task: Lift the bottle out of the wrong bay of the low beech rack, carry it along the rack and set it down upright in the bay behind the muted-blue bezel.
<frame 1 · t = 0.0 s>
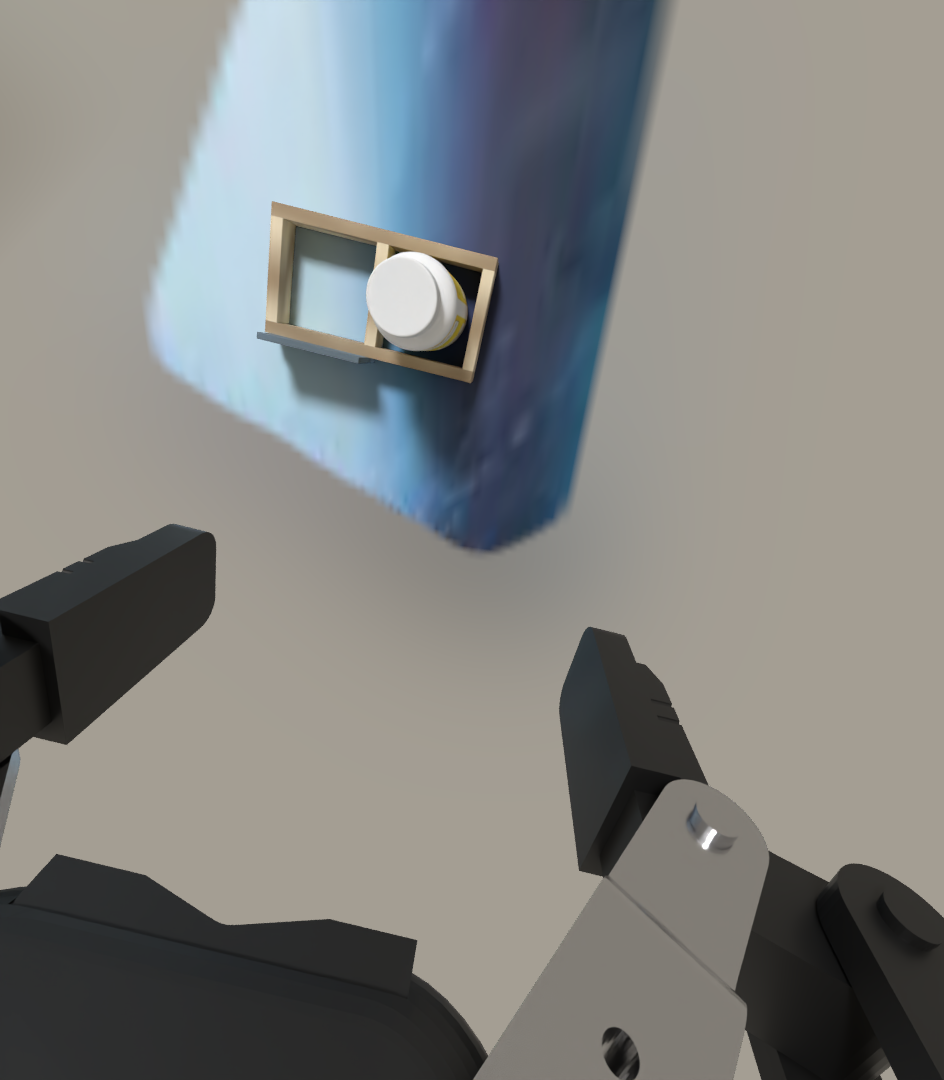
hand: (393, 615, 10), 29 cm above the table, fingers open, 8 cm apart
supplement bottle: (432, 312, 35), resting in rack
rack: (383, 299, 34), on the table
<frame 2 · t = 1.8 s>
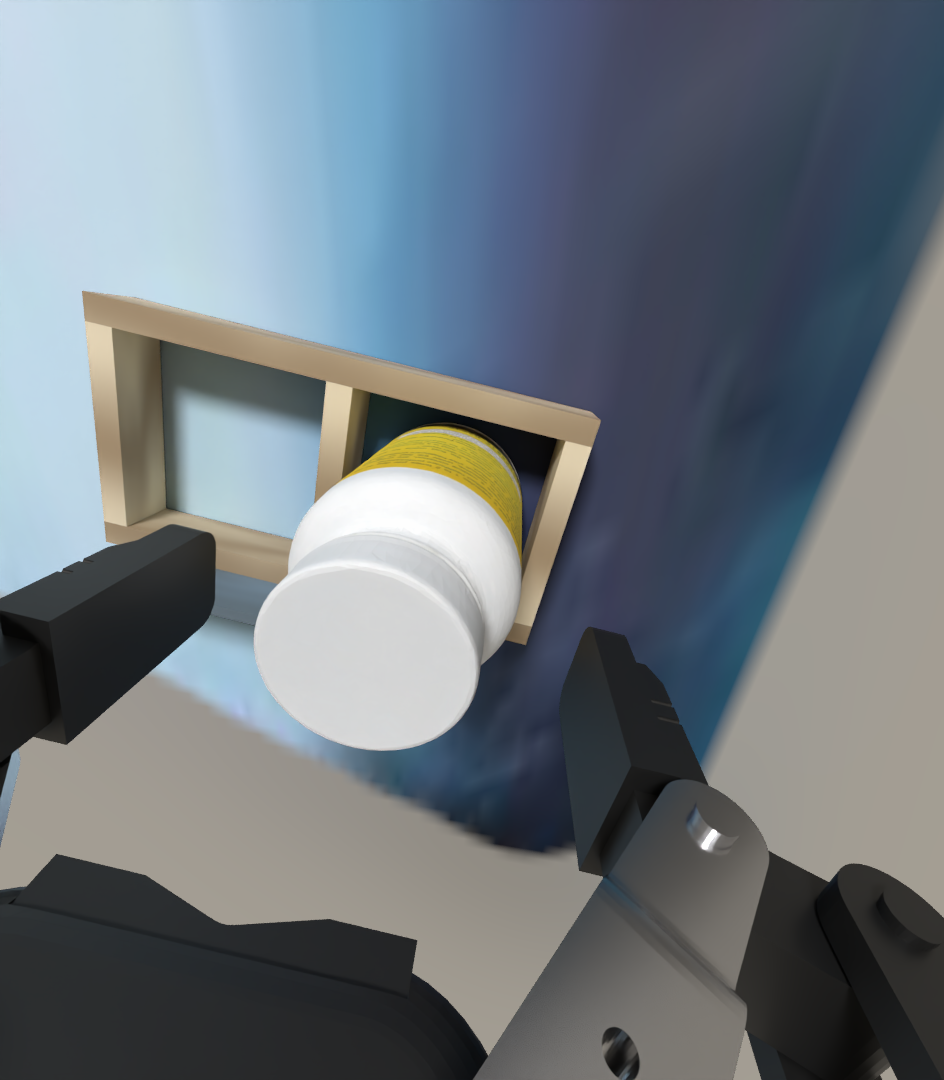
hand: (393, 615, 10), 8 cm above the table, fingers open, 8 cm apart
supplement bottle: (447, 494, 17), resting in rack
rack: (348, 471, 17), on the table
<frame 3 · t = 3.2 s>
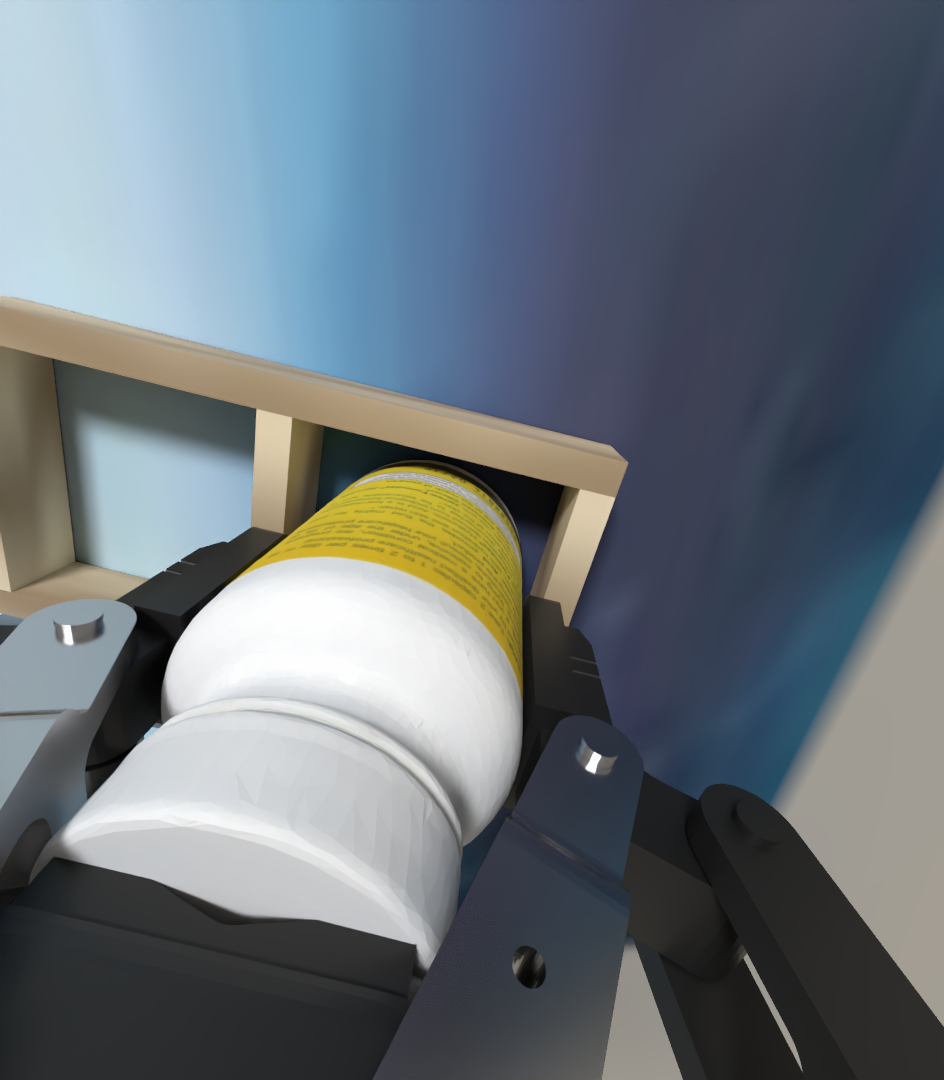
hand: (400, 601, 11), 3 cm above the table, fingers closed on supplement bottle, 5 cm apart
supplement bottle: (426, 546, 13), resting in rack, touching gripper
rack: (300, 519, 13), on the table
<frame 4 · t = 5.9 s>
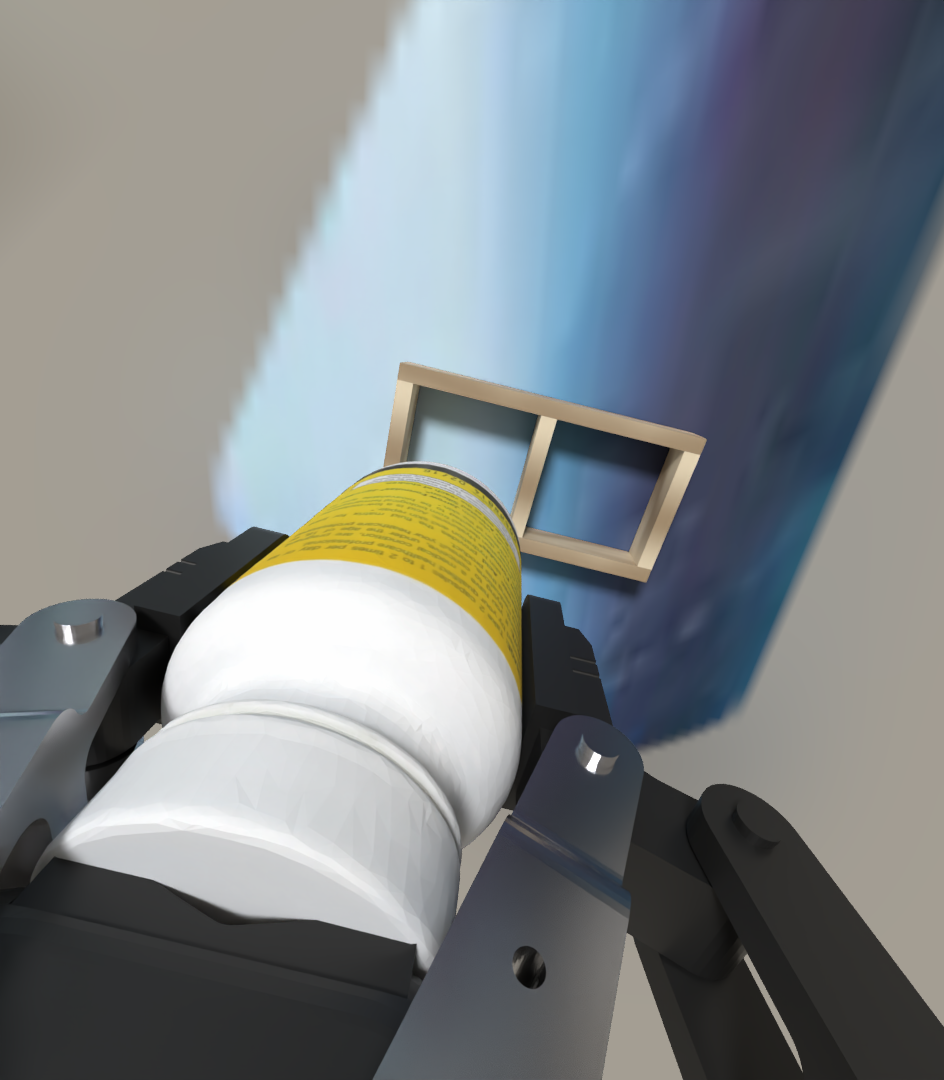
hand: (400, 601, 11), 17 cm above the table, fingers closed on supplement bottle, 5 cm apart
supplement bottle: (426, 548, 14), point 13 cm above the table, touching gripper
rack: (530, 470, 26), on the table
when the fingers open (4 cm above the table, at t = 8.6 s): supplement bottle stays where it is, resting in rack.
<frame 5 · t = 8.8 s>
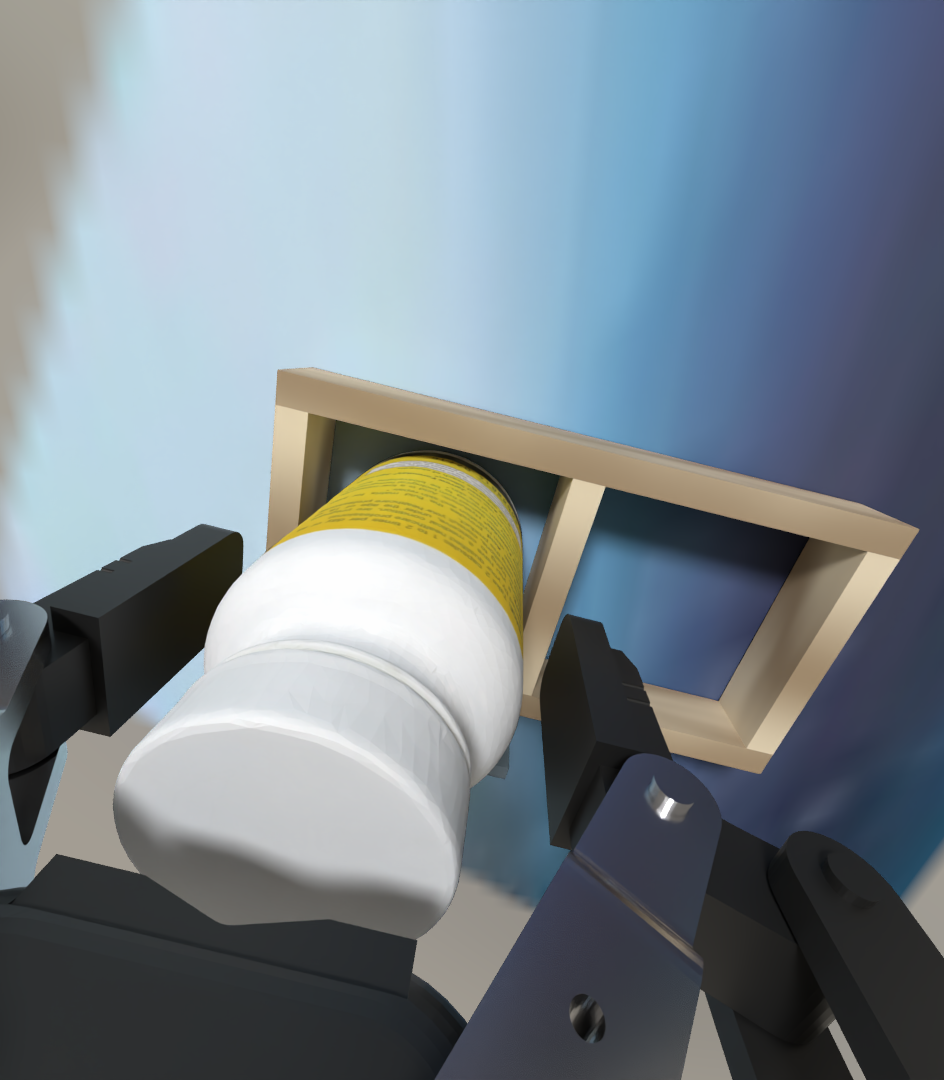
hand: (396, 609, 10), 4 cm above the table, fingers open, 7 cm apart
supplement bottle: (433, 533, 14), resting in rack
rack: (545, 566, 14), on the table
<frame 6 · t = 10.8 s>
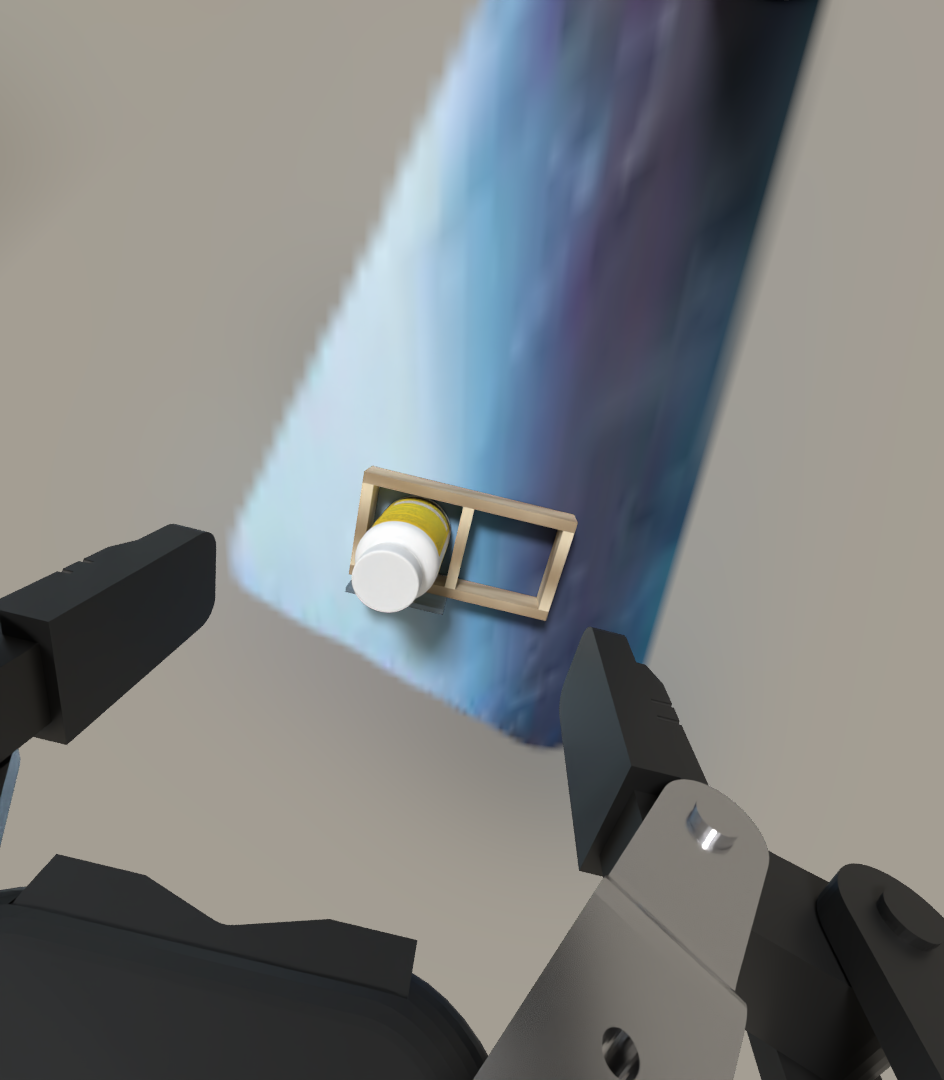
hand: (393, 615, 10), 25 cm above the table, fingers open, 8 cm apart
supplement bottle: (416, 527, 36), resting in rack
rack: (461, 540, 36), on the table
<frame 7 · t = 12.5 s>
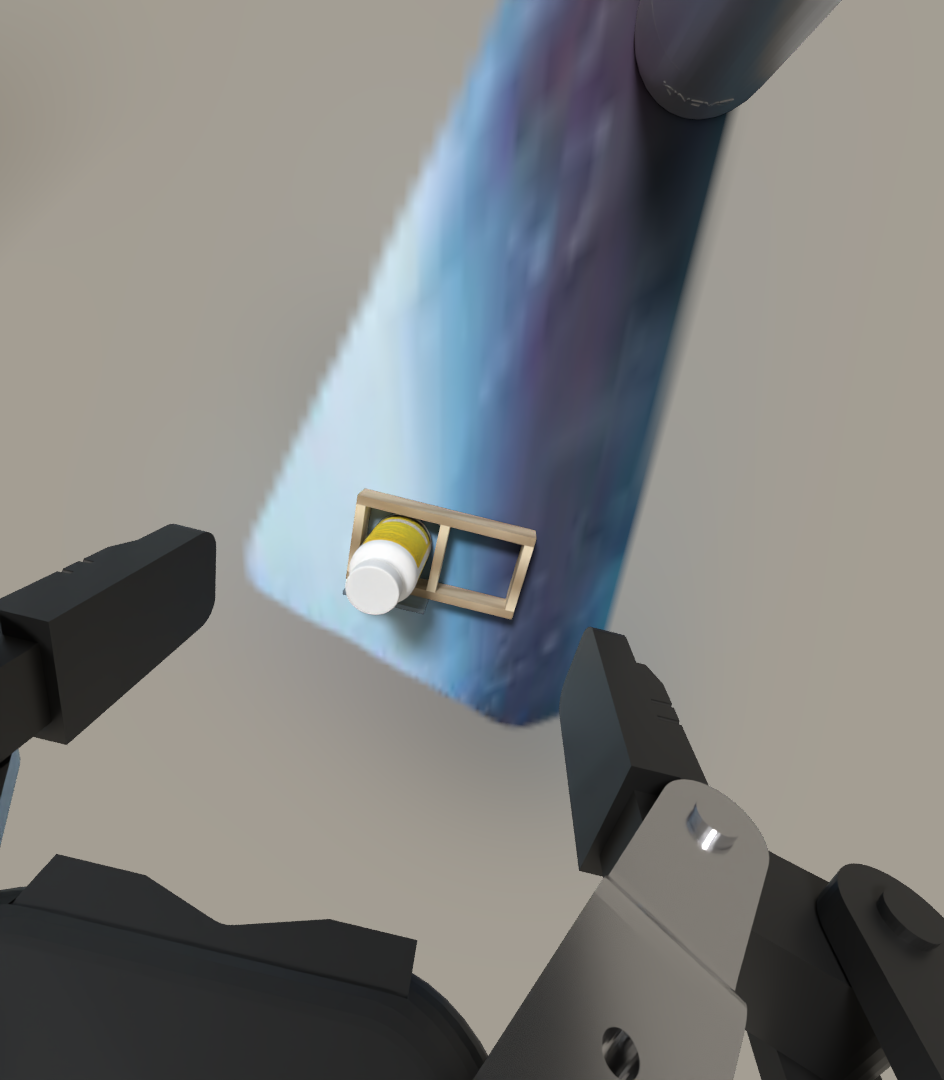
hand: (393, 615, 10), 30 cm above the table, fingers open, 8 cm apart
supplement bottle: (403, 539, 42), resting in rack
rack: (441, 550, 42), on the table
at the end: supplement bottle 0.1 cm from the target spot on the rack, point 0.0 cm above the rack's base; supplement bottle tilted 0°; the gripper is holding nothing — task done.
